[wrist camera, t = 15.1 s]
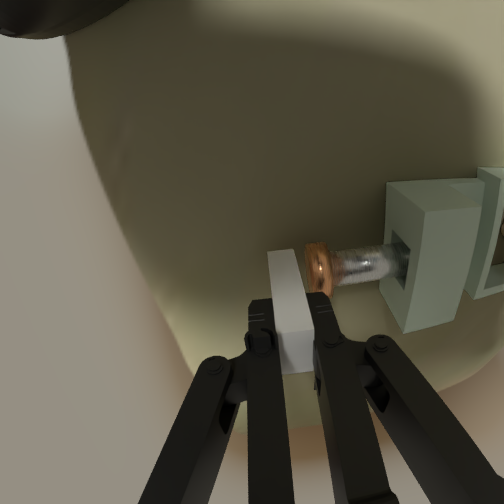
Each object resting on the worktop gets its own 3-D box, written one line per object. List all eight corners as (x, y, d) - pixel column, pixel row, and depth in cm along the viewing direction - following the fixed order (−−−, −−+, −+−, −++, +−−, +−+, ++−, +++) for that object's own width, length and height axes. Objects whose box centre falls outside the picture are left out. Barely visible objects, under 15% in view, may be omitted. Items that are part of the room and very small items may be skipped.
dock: (386, 169, 16) (426, 196, 12) (548, 169, 15) (583, 189, 11) (377, 298, 21) (400, 342, 17) (528, 262, 20) (555, 289, 16)
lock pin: (303, 234, 17) (314, 263, 14) (410, 221, 17) (435, 245, 14) (306, 279, 19) (315, 312, 16) (405, 264, 18) (426, 292, 16)
